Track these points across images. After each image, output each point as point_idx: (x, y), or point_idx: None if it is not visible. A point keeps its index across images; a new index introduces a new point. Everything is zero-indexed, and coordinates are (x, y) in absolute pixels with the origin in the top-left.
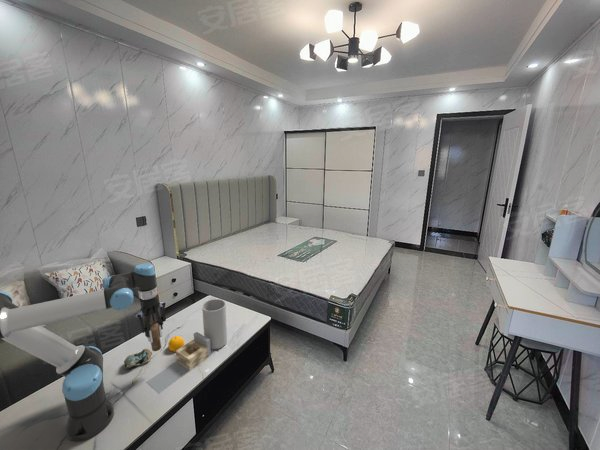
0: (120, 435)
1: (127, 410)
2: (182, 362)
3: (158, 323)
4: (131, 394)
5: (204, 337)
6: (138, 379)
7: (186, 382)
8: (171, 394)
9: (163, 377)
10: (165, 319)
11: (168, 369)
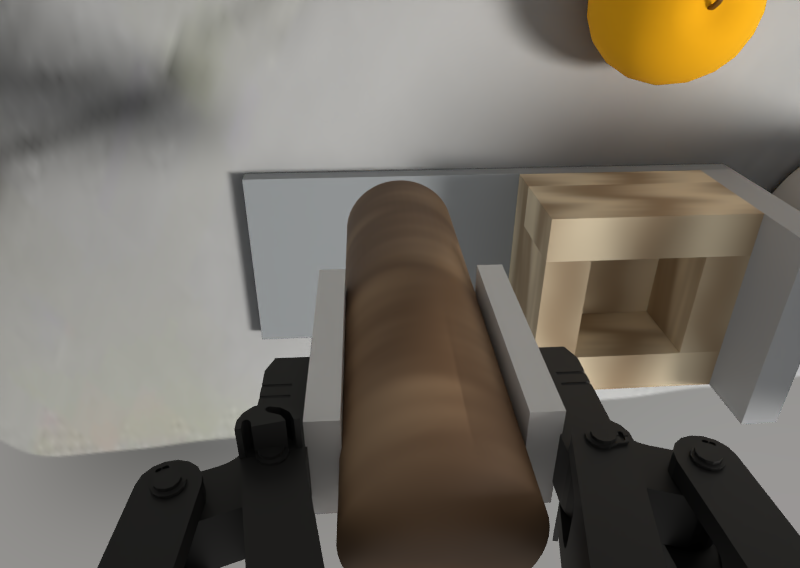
0: (4, 397)
1: (70, 284)
2: (518, 265)
3: (562, 465)
4: (127, 179)
5: (786, 369)
6: (220, 72)
7: None
8: None
9: None
10: (704, 551)
11: None
